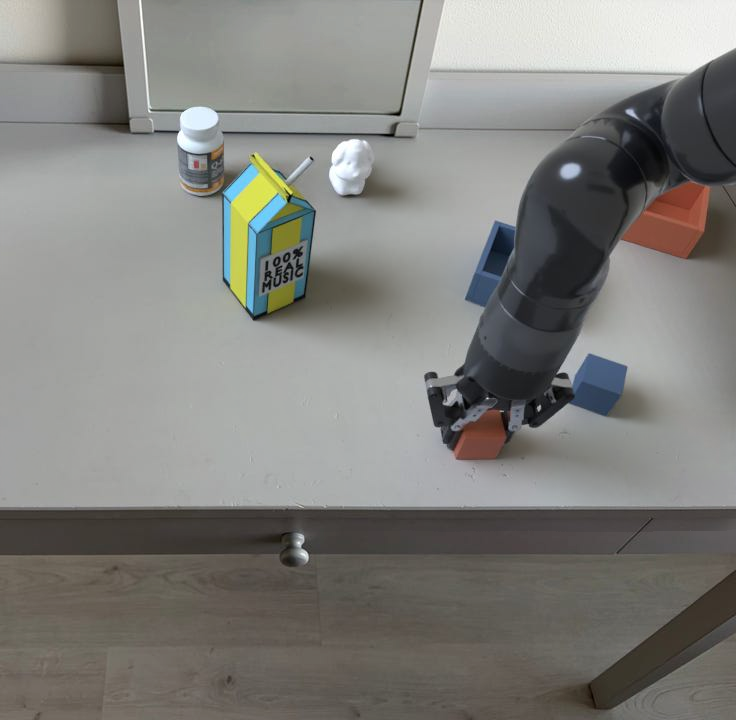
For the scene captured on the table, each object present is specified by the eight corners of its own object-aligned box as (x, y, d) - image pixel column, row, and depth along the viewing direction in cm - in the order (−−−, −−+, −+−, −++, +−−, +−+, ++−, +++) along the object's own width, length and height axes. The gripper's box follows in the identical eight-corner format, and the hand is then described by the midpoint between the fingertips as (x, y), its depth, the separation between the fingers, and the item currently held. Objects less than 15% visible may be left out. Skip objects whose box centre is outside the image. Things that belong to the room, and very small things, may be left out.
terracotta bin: (693, 212, 100) (711, 184, 97) (686, 259, 95) (704, 231, 91) (619, 190, 102) (634, 162, 99) (608, 235, 97) (623, 207, 93)
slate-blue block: (612, 388, 83) (628, 366, 80) (606, 416, 81) (622, 395, 78) (574, 375, 84) (588, 352, 81) (567, 403, 82) (581, 381, 78)
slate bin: (561, 272, 93) (575, 245, 89) (545, 327, 88) (559, 300, 84) (484, 248, 95) (495, 220, 91) (464, 300, 90) (474, 272, 86)
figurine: (330, 206, 99) (338, 155, 92) (321, 166, 103) (327, 115, 97) (372, 204, 99) (382, 154, 93) (361, 164, 104) (370, 113, 97)
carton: (312, 296, 89) (329, 171, 75) (254, 322, 87) (260, 198, 72) (278, 255, 93) (288, 129, 79) (222, 279, 91) (221, 153, 76)
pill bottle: (223, 198, 99) (222, 133, 91) (178, 197, 99) (173, 132, 91) (224, 169, 102) (224, 104, 94) (181, 168, 102) (177, 102, 94)
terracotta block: (487, 425, 80) (498, 403, 76) (495, 459, 77) (506, 438, 74) (448, 425, 79) (458, 403, 76) (455, 459, 77) (465, 438, 74)
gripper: (447, 370, 62) (407, 474, 76) (622, 370, 63) (551, 474, 76) (432, 299, 67) (397, 409, 80) (596, 300, 67) (533, 410, 81)
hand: (472, 440), depth 78 cm, fingers closed on terracotta block, 4 cm apart
